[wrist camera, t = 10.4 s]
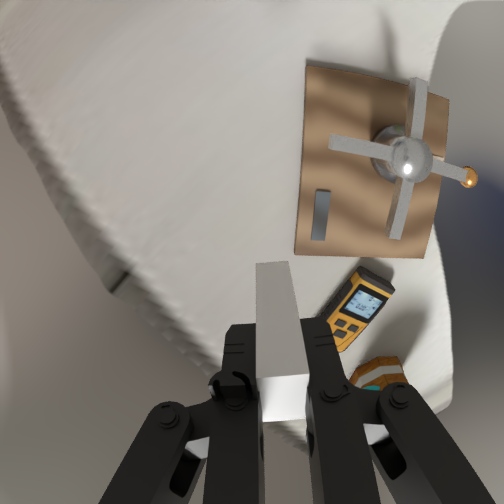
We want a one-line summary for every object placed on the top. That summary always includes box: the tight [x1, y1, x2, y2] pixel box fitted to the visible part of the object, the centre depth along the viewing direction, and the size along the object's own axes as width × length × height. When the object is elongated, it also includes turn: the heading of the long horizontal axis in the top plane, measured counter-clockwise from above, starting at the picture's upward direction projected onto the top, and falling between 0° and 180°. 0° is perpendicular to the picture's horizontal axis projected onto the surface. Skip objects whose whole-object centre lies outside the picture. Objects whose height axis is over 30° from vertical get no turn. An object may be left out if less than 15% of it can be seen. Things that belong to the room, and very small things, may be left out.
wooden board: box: [294, 66, 449, 259], centre depth 35 cm, size 26×22×2 cm
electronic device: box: [320, 266, 395, 352], centre depth 45 cm, size 8×16×3 cm, turn 153°
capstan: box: [328, 77, 478, 240], centre depth 29 cm, size 21×19×8 cm
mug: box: [349, 356, 409, 391], centre depth 49 cm, size 20×14×15 cm
